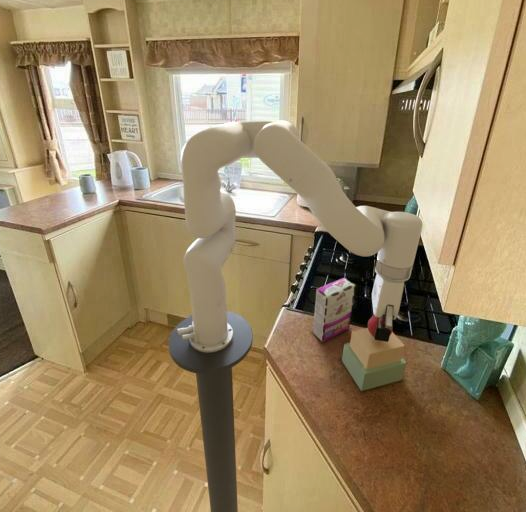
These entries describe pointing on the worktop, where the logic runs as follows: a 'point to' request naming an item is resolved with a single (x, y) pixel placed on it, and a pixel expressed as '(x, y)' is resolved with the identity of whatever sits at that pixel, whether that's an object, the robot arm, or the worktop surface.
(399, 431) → the worktop surface
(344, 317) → the candy bar box
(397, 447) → the worktop surface
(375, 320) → the onion
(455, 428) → the worktop surface
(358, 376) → the box stack
